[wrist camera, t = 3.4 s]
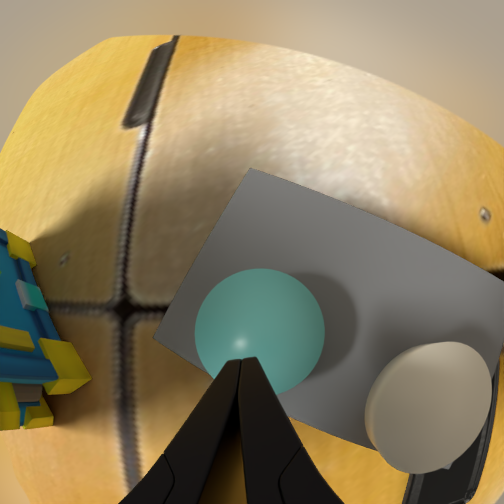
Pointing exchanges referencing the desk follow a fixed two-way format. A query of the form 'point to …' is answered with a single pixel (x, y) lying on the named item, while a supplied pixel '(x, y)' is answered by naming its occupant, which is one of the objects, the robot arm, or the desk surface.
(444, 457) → the cream button
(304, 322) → the teal button
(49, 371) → the decorative book
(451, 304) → the button box
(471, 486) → the phone
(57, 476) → the desk surface
